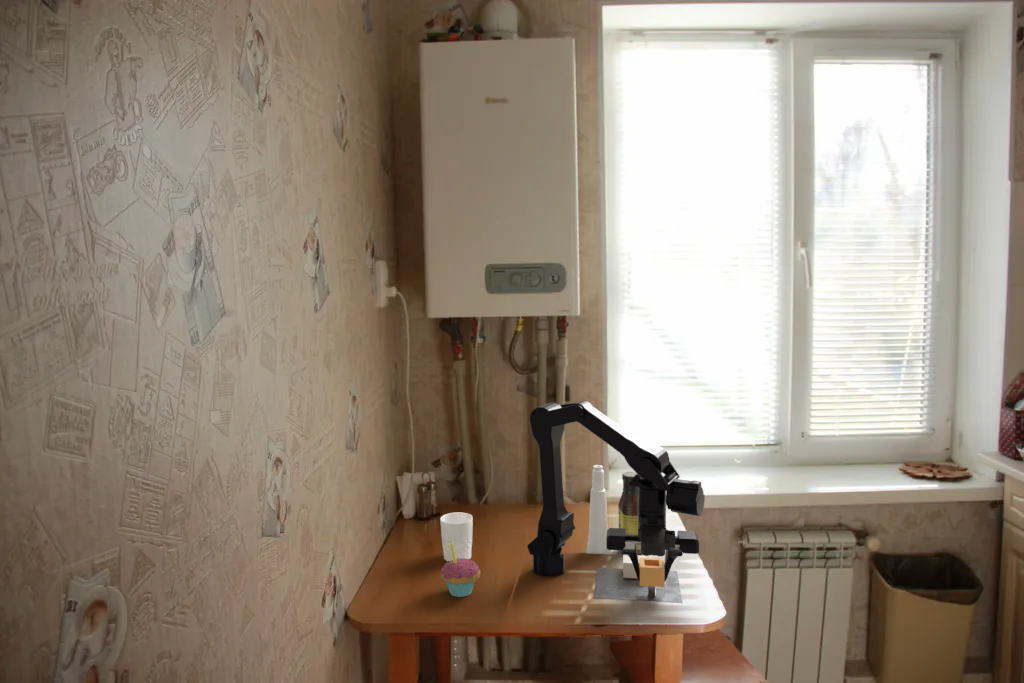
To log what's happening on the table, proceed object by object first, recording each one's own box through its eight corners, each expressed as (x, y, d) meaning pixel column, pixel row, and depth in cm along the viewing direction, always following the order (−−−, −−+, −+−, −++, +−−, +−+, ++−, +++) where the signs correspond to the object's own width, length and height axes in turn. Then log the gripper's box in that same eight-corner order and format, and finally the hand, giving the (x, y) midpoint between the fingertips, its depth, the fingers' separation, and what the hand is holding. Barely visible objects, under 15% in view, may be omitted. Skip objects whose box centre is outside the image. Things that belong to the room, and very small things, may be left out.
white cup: (459, 548, 180) (458, 509, 179) (480, 557, 174) (479, 517, 173) (434, 557, 174) (433, 518, 173) (455, 567, 169) (454, 526, 168)
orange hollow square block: (639, 585, 148) (639, 567, 147) (639, 575, 153) (639, 557, 152) (664, 587, 147) (664, 568, 147) (663, 576, 152) (663, 558, 151)
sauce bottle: (627, 544, 180) (627, 467, 178) (649, 550, 176) (649, 472, 174) (613, 552, 175) (613, 474, 173) (636, 559, 171) (636, 478, 169)
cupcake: (448, 604, 150) (446, 549, 149) (436, 587, 158) (434, 535, 157) (486, 596, 154) (485, 542, 152) (472, 580, 161) (471, 529, 160)
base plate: (594, 603, 149) (593, 574, 149) (596, 572, 164) (596, 546, 163) (682, 608, 146) (682, 579, 146) (677, 576, 161) (677, 550, 160)
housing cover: (623, 577, 158) (623, 562, 157) (623, 569, 162) (623, 554, 162) (646, 578, 157) (646, 563, 157) (645, 570, 161) (645, 555, 161)
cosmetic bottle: (599, 546, 179) (599, 461, 177) (616, 554, 174) (615, 466, 172) (581, 552, 176) (580, 465, 173) (597, 560, 171) (596, 471, 168)
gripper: (605, 519, 142) (605, 594, 143) (702, 523, 139) (701, 600, 141) (607, 501, 153) (607, 571, 154) (696, 504, 150) (695, 575, 151)
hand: (651, 579), depth 150 cm, fingers closed on orange hollow square block, 5 cm apart
